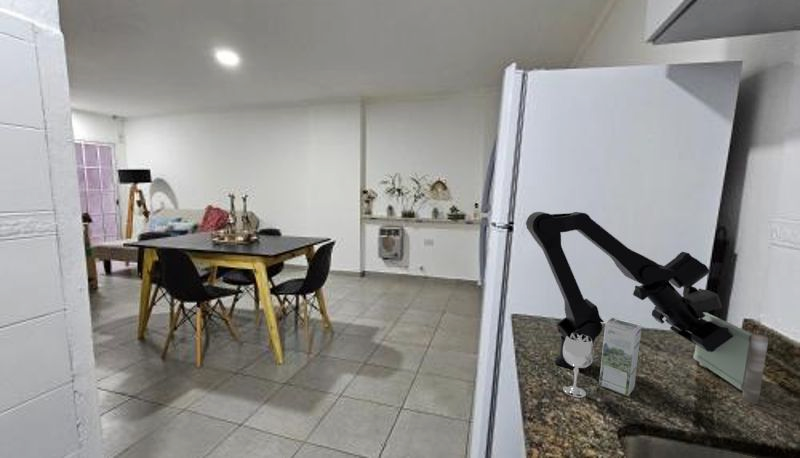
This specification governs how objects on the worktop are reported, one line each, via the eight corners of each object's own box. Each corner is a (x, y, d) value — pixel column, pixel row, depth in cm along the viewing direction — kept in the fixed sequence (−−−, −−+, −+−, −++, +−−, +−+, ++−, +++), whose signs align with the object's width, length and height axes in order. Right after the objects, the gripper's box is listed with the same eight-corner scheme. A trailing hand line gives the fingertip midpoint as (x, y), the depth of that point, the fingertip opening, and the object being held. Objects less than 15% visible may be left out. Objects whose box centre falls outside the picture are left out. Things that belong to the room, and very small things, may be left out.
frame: (771, 405, 71) (782, 340, 70) (748, 403, 72) (758, 338, 70) (708, 364, 88) (715, 310, 86) (689, 362, 89) (696, 309, 87)
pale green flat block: (748, 390, 74) (757, 336, 72) (740, 389, 74) (748, 335, 73) (700, 358, 88) (706, 312, 86) (693, 358, 88) (699, 312, 86)
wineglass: (589, 402, 70) (595, 345, 69) (558, 393, 73) (563, 339, 72) (589, 388, 75) (595, 335, 74) (560, 381, 78) (565, 329, 77)
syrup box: (635, 387, 76) (642, 323, 75) (628, 398, 72) (635, 331, 71) (606, 376, 80) (612, 316, 79) (597, 386, 76) (604, 322, 75)
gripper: (731, 290, 72) (780, 346, 72) (670, 269, 90) (709, 313, 90) (684, 324, 73) (732, 378, 74) (634, 296, 92) (672, 339, 92)
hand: (710, 349), depth 82 cm, fingers closed on pale green flat block
